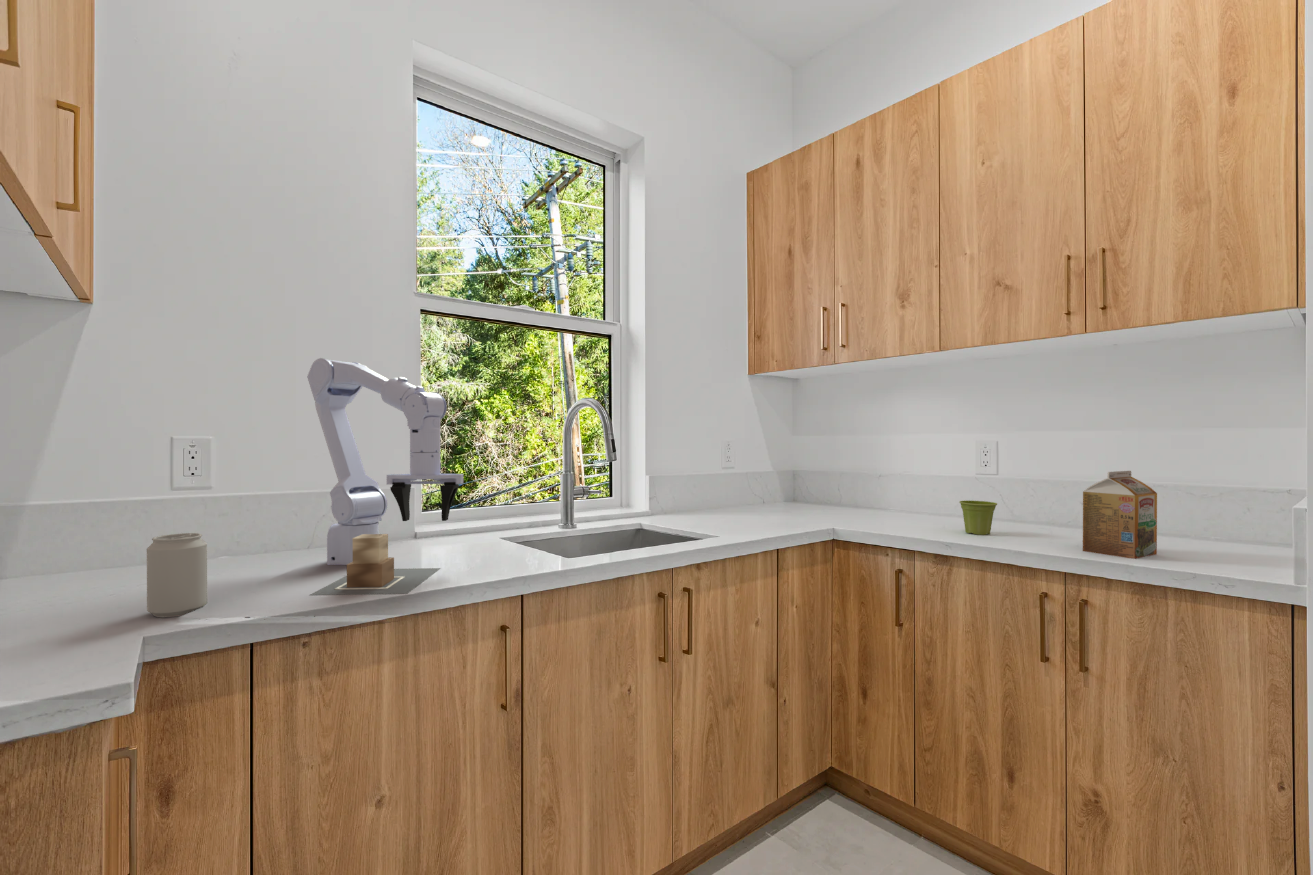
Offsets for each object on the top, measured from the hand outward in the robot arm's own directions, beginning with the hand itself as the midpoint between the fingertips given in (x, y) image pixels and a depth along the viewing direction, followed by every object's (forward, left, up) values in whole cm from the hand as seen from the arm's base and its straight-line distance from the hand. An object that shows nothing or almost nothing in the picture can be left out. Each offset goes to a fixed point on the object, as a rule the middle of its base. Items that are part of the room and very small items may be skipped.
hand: (425, 520), depth 126 cm
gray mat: (-5, -10, -10) cm, 15 cm away
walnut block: (-6, -12, -10) cm, 16 cm away
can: (-30, -26, -11) cm, 41 cm away
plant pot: (+138, +41, -11) cm, 144 cm away
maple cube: (-6, -12, -6) cm, 15 cm away
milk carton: (+155, +12, -11) cm, 156 cm away
